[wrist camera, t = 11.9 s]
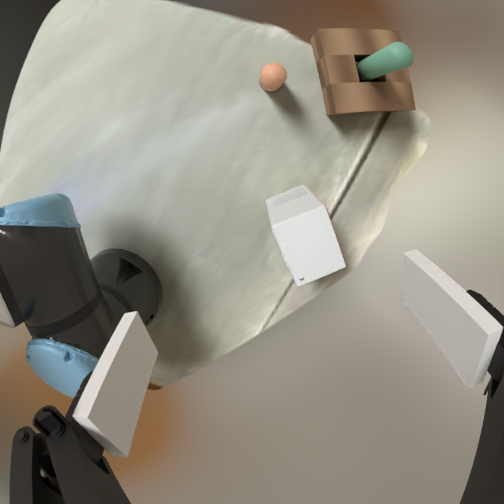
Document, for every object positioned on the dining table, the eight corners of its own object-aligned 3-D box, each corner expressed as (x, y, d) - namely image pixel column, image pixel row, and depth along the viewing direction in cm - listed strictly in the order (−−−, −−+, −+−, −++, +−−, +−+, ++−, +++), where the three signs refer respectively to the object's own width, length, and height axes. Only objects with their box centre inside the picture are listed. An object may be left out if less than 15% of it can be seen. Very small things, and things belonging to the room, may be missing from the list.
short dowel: (264, 94, 36) (267, 90, 30) (256, 76, 35) (256, 68, 29) (284, 87, 36) (290, 81, 30) (276, 69, 35) (280, 59, 28)
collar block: (326, 115, 37) (336, 113, 33) (310, 39, 33) (317, 28, 28) (399, 111, 36) (415, 109, 32) (384, 39, 32) (398, 31, 27)
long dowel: (350, 84, 35) (392, 66, 22) (346, 65, 34) (386, 40, 21) (368, 83, 35) (415, 68, 22) (364, 65, 34) (409, 43, 21)
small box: (323, 230, 44) (347, 268, 32) (285, 246, 45) (296, 289, 33) (304, 182, 41) (325, 203, 29) (264, 199, 42) (268, 227, 30)
